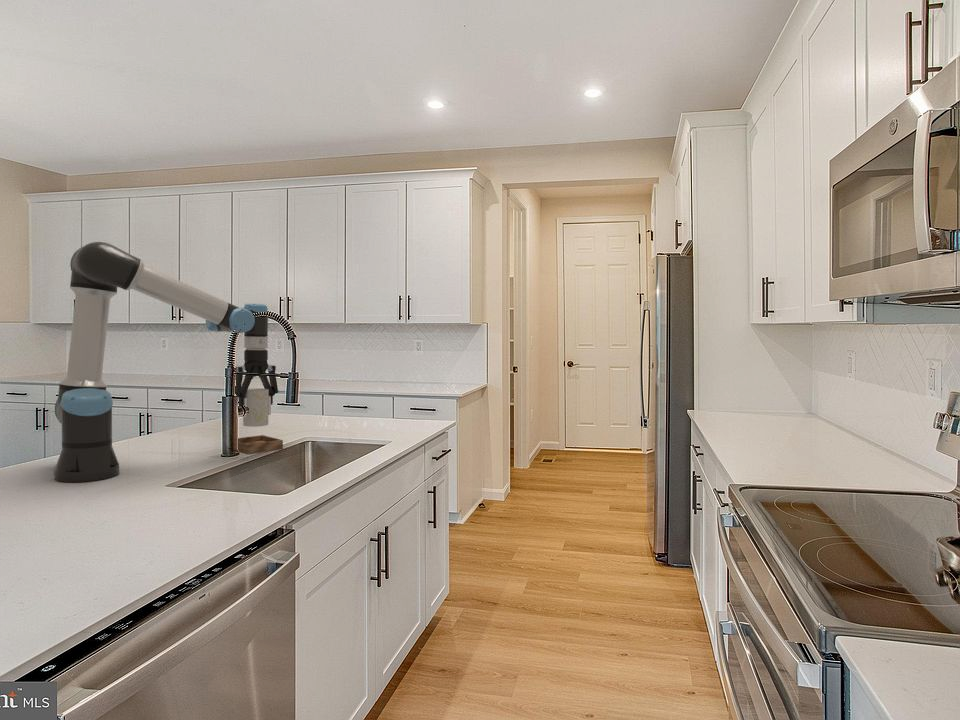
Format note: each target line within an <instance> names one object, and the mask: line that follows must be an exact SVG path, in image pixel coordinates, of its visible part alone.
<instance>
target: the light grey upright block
mask: <svg viewBox="0 0 960 720" xmlns="http://www.w3.org/2000/svg"><path fill="white" fill-rule="evenodd" d="M244 398H247V407H248V408H249V413H248V414H247V417H242V424H243V426H244V427H249V428H250V427H251V428H252V427H255V428H256V427H266V426H268V425H269V415H268V408H269V389H265V388H263V387H262V388H261V387H260V388H257V387H256V388H248V390H247V392H246V395H245V397H244Z"/></svg>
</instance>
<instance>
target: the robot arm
mask: <svg viewBox="0 0 960 720" xmlns="http://www.w3.org/2000/svg"><path fill="white" fill-rule="evenodd" d="M69 266H70V271H71V274H70V275H71V276H70V283H69V288H70V290H71V291H73V293H74V295H75V296H74V297H75V298H74V309H73V317H72V324H71V325H72V326H71V332H70V333H71V335H70V344H69V353H68V361H67V362H68V363H67V372H66V377H65V378H64V379H63V380H61V381H60V382H59V385H58V394H57V399H56V401H55V403H54V415H55V417H56V418H57V421H58V422H59V423H60V424H61V452H60V454H59V456H58V460H57V462H56V464H55V468H54V469H53V470H54V471H53V472H54V473H53V475H54V477H53V479H54V480H55V481H58V482H64V483H65V482H66V483H80V482H81V483H82V482H83V483H84V482H94V481H99V480H105V479H110V478H113V477H115V476H116V477H117V475H118V476H119V474H120V462H119V461H118V457H117V456H116V452H115V450H114V448H113V404H114V403H113V399H112V394H111V393H110V392H109V391H108V390H107V387H108V385H107V384H106V383H105V382H104V380H102V377H103V376H102V375H103V368H104V359H105V351H106V350H105V348H106V341H107V340H106V339H107V331H108V322H109V320H108V319H109V314H110V313H109V312H110V302H111V299H112V298H113V297H114V296H116V295H117V294H118V288H120V289H123V290H125V291H129V290H134V291H137V292H138V293H141V294H144V295H146V296H149V297H151V298H153V299H155V300H157V301H161V302H163V303H164V304H168V305H170V306H172V307H175V308H177V309H180V310H182V311H184V312H186V313H189V314H190V315H191V314H192V315H194V316H196V317H199V318H201V319H203V320H205V327H206V329H207V330H208V331H210V332H228V333H238V332H239V330H240V329H241V331H240V332H239V333H238V334H243V333H244V338H243V341H244V343H243V345H244V346H243V347H244V351H243V352H244V353H243V354H244V355H243V356H244V357H243V358H244V359H243V360H244V364H243V365H240V366H235V368H234V369H235V372H236V371H237V372H243V374H236V373H235V377H234V378H235V379H234V381H235V380H236V386H235V394H236V395H237V396H236V397H237V398H238V402H237V403H238V405H239V406H243V405H245V407H247V398H244V397H245V395H246V392H247V390H248V389H249V387H250V384H251V382H252V380H253V379H254V378H255V377H258V378H259V379H260V381H261V384H262V386H263V389H269V408H268V416H271V414H272V411H271V409H272V406H271V405H273V403H274V396H275V395H276V394H278V393H279V388H278V382H277V375H276V376H269V374H276V370H277V369H276V368H277V367H276V366H277V365H274V364H269V363H268V359H269V356H268V355H269V351H268V343H269V341H268V339H269V337H268V336H269V334H268V332H269V331H268V329H269V316H268V317H257V318H254V315H253V313H257V312H268V313H269V311H268V306H267V304H265V303H244V307H239V306H236V305H235V304H232V303H230V302H228V301H226V300H223V299H221V298H219V297H217V296H214V295H212V294H209V293H208V292H205V291H203V290H201V289H199V288H196V287H194V286H192V285H189V284H188V283H186V282H183V281H181V280H178V279H177V278H174V277H172V276H170V275H167V274H165V273H163V272H161V271H158V270H156V269H154V268H152V267H149V266H147V265H145V264H144V262H143V260H142V259H141V258H139V257H137V256H134V255H132V254H130V253H128V252H126V251H124V250H123V249H121V248H118V247H117V246H115V245H113V244H111V243H108V242H105V241H104V242H103V241H94V242H90V243H87V244H85V245H83V246H81V247H79V248H78V249H77V250H76V251H75V252H74V253H73V255H72V256H71V259H70V265H69ZM240 321H241V322H240ZM244 324H245V325H244ZM243 325H244V326H243ZM242 326H243V327H242ZM234 329H235V331H234ZM233 331H234V332H233ZM266 371H267V372H268V375H267V376H261V375H245V374H246V373H258V374H267V372H266ZM244 372H245V374H244ZM243 377H244V379H243ZM268 378H269V380H268ZM239 406H238V407H239ZM240 417H242V418H243V417H247V415H244V416H241V415H240Z"/></svg>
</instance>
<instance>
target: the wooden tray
mask: <svg viewBox="0 0 960 720" xmlns="http://www.w3.org/2000/svg"><path fill="white" fill-rule="evenodd" d="M237 438H238V450H239V451H238V452H239V453H243V454H246V455H250V454H257V453H263V452H270V451H276V450H282V449H283V448H284V445H283V443H284V439H281V438H280V439H279V438H275V437H272V436H268V435H264V434H261V435H260V434H259V435H252V436H244V437H237Z"/></svg>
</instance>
